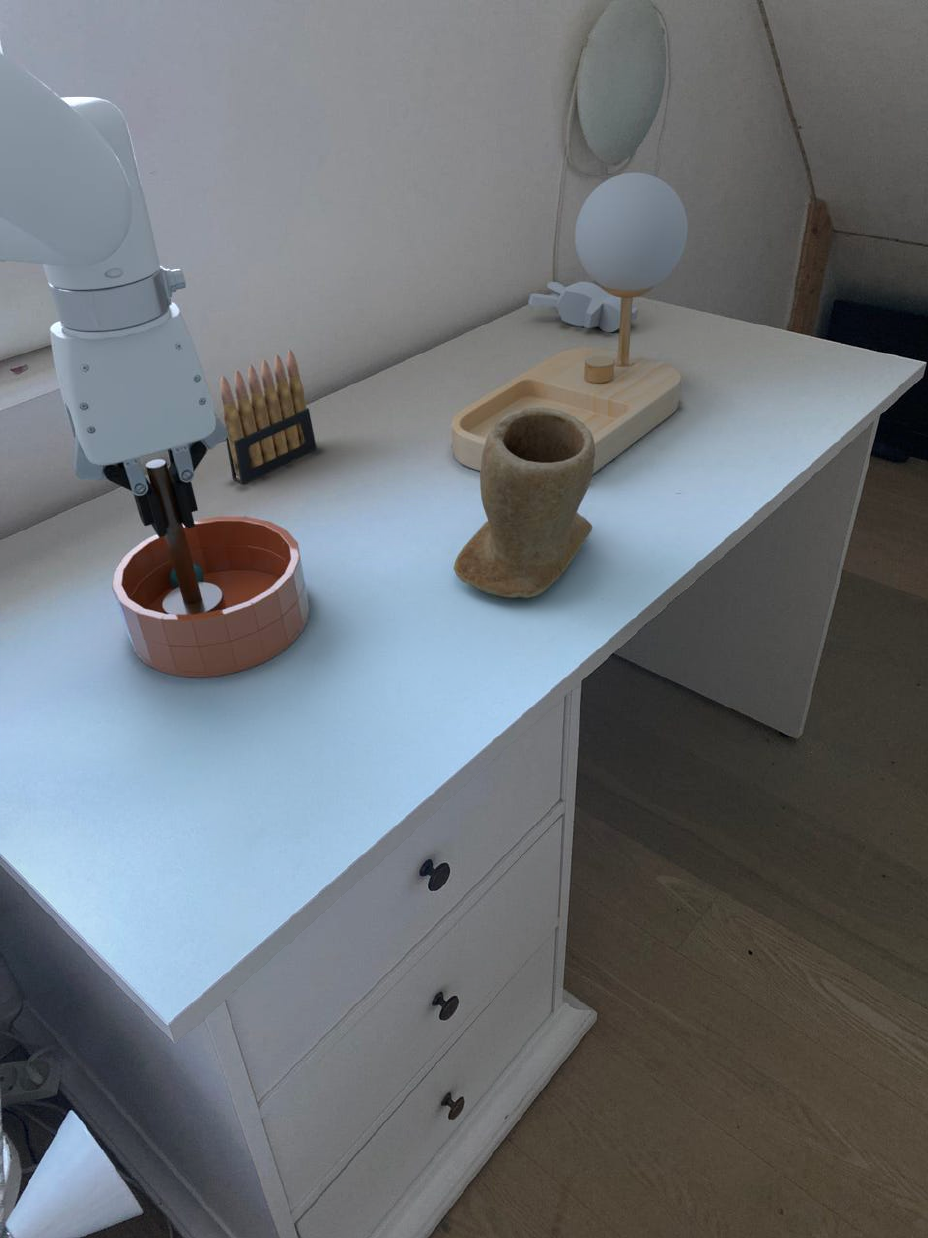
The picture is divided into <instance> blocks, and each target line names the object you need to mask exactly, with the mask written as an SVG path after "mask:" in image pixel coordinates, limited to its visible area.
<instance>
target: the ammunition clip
mask: <svg viewBox="0 0 928 1238" xmlns="http://www.w3.org/2000/svg"><path fill="white" fill-rule="evenodd" d="M273 365H274V366H273V370H274V371H273V372H274V377H273V374H272V371H271V367H270V366H269V363H268V362H267V361H266V359H263V360H262V362H261V371H260V373H261V382H262V386H261V382H260V379H259V376H258V373H257V372H256V368H255V367H254V366H253V365H252V364H250V365H249V367H248V372H247V374H248V375H247V377H248V387H249V394H248V389H247V385H246V382H245V380H244V378H243V376H242V374H241V372H240V371H239V370H236V371H235V372H234V373H235V374H234V390H235V391H234V392H235V396H236V397H235V398H234V394H233V390H232V388H231V385H230V383H229V381H228V380H227V378H226V377H225V375H222V376H221V379H220V396H221V401H222V410H223V420H224V426H225V428H226V430H227V431H228V437H227V438H226V439H225V442H226V447H227V452H228V458H229V463H230V470H231V475H232V480H234V481H236V482H238V483H239V484H242V485H246V484H248V483H249V482H251V481H253V480H256V479H257V478H259V477H262V476H264V475H266V474H268V473H270V472H273V471H274V470H276V469H279V468H281V467H283V466H285V465H286V464H288V463H291V462H293V461H295V460H297V459H299V458H301V457H303V456H305V455H308V454H310V453H311V452H313V451H316V450H317V443H316V442H317V441H316V438H315V437H316V436H315V433H314V428H313V427H314V426H313V422H312V417H311V411H310V408H307V403H306V396H305V391H304V386H303V383H302V380H301V375H300V372H299V367H298V362H297V360H296V356H295V355H294V353H293V351H292V349H288V350H287V355H286V369H285V367H284V363H283V361H282V359H281V357H280V356H279V355H278V354H275V357H274V363H273ZM286 371H287V373H286ZM287 378H288V379H287ZM274 379H275V382H274ZM249 397H250V398H249ZM235 399H236V402H235Z"/></svg>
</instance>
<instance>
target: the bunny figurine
mask: <svg viewBox="0 0 928 1238" xmlns="http://www.w3.org/2000/svg"><path fill="white" fill-rule="evenodd" d="M546 288H547V291H548V292H550V293H552V294H555V295H549V294H543V293H534V292H533V293H530V296H529V299H528V302H527V304H528V305H529V306H532V307H556V310H557V312H558V314H559V317H560V319H561V321H563V322H565V323H566V324H569V325H572V326H575V327H583V328H587V329H591V328H596V327H599V328H600V329H601V331H603V332H606V333H612V332H613V333H614V332H616V331H618V330H619V329H620V311H621V297H616V296H613V295H611V294H609V293H607V292H606V291H605V290H604V289H603V288H602V287H601V286H600V285H597V284H595V283H593V282H589V281H581V280H580V281H578V282H576V283H573V284H570V285H568V286H564V285H562V284H561V283H560V282H557V281H551V282H548V283H547V284H546ZM556 295H557V296H556ZM638 312H639V309H638V308H635V306H634V305H633V304H632V316H631V324H632V323H634V322H635V321H636V320H637V317H638Z"/></svg>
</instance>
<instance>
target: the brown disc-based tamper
mask: <svg viewBox="0 0 928 1238" xmlns="http://www.w3.org/2000/svg"><path fill="white" fill-rule="evenodd" d="M168 468H169V466H168V463H167V461H166V460H165V459H162V458H161V459H160V458H158V459H152V460H150V461H148V462H147V463H146V464H145V469H146V473H147V477H148V481H149V483H150V484H151V486H152V487H153V489H154V490H155V492H156V493H157V496H158V499H159V503H160V507H161V510H162V514H163V518H164V521H165V525H166V529H167V534H166V536H165V538H166V542H167V545H168V549H169V552H170V556H171V559H172V563H173V567H174V570H175V574H176V577H177V581H178V585H179V587H178V588H176V589H174V590H172V591H171V592H169V593H168V594H167V595H166V596H165V598H164V599H163V602H162V608H163V612H164V614H186V615H193V614H200V613H206V612H212V611H218V610H223V609H226V604H225V600H224V596H223V592H222V590H221V589H220V588H219V587H218V586H217V585H215V584H212V583H207V582H198V581H197V577H196V573H195V569H194V565H193V562H192V558H191V554H190V550H189V546H188V543H187V539H186V535H185V531H184V527H183V523H182V520H181V516H180V513H179V509H178V505H177V501H176V497H175V494H174V490H173V486H172V482H171V478H170V474H169V470H168Z"/></svg>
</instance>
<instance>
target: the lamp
mask: <svg viewBox="0 0 928 1238" xmlns="http://www.w3.org/2000/svg"><path fill="white" fill-rule="evenodd" d="M688 225H689V224H688V218H687V213H686V209H685V207H684V204H683V202H682V200H681V198H680V196H679V195H678V194H677V192H676V191H675V190H674V188H672V186H671V185H669V184H668V183H666V182H665V181H664V180H663V179H662V178H659V177H657V176H655V175H651V174H648V173H644V172H625V173H622V174H621V173H620V174H618V175H616V176H612V177H611V178H609V179H607V180H605V181H603V182H602V183H601V184H599V185H598V186H596V187H595V189H594V190H593V191H592V192H591V193H590V194H589V196H588V197H587V198H586V199H585V200H584V203H583V204H582V206H581V208H580V211H579V213H578V216H577V220H576V224H575V229H574V230H575V231H574V242H575V248H576V253H577V256H578V259H579V261H580V264H581V266H582V267H583V269H584V271H585V272H586V273H587V275H589V277H590V278H591V279H592V280H593V281H595V282H596V283H598V284H599V286H600V288H601V289H602V290H603V291H606V292H607V293H609V294H611V295H613V296H616V297H621V311H620V328H619V329H618V332H619V333H618V347H617V348H618V350H614V349H608V348H602V347H581V348H580V347H579V348H573V349H567V350H564V351H561V352H558V353H556V354H554V355H552V356H551V357H549V358H547V359H546V360H544V361H542V362H540V363H538V364H537V365H535V366H534V367H532V368H530V369H528V370H527V371H525V372H523V373H522V374H520V375H518V376H517V377H515V378H512V379H511V380H509V381H508V382H506V383H505V384H503V385H501V386H500V387H497V388H496V389H495V390H493V391H491V392H490V393H488V394H486V395H484V396H483V397H481V398H480V399H478V400H476V401H474V402H473V403H471V404H469V405H468V406H465V407H464V408H463V409H461V410H459V411H458V412H457V413H456V414H455V415H454V416H453V418H452V421H451V431H452V433H451V434H452V451H453V456H454V457H455V459H456V460H457V461H458V463H460V464H462V466H463V465H464V466H465V467H467V468H470V469H471V470H475V471H479V472H481V462H482V454H483V448H484V446H485V443H486V440H487V437H488V435H489V433H490V431H491V429H492V428H493V427H494V425H495V424H496V423H497V422H498V421H499V420H500V419H502V418H503V417H505V416H506V415H508V414H509V413H511V412H514V411H517V410H521V409H526V408H538V407H544V408H551V409H556V410H560V411H563V412H565V413H568V414H570V415H572V416H574V417H576V418H577V419H578V420H579V421H581V422H582V423H584V425H585V426H586V427H587V428H588V429H589V430H590V432H591V434H592V436H593V439H594V445H595V458H594V468H593V475H594V474H595V473H596V472H598V471H600V469H602V468H604V466H606V465H607V464H608V463H610V462H611V461H612V460H613V459H615V458H617V457H618V456H619V455H620V454H622V453H623V452H624V451H625V450H627V449H628V448H630V447H631V446H632V445H633V444H634V443H636V442H637V441H639V440H640V439H641V438H643V437H644V436H645V435H647V434H648V433H649V432H650V431H652V430H653V429H654V428H656V427H657V426H658V425H660V424H661V423H662V422H663V421H665V420H666V419H667V418H669V417H670V416H671V415H672V414H674V413H675V412H676V411H677V409H678V408H679V403H680V394H681V393H680V392H681V384H682V383H681V381H682V374H681V373H680V370H678V369H677V368H676V367H675V366H674V365H671V364H669V363H666V362H664V361H661V360H656V359H652V358H648V357H644V356H639V355H635V354H632V353H630V348H631V347H630V346H631V345H630V344H631V329H632V323H631V316H632V305H633V300H634V299H633V298H638V297H642V296H644V295H646V294H648V293H649V292H650V291H652V290H653V289H654V287H655V286H656V285H658V284H659V283H661V282H662V281H663V280H665V279H666V278H667V277H668V276H670V274H671V273H672V271H673V270H674V269H675V268H676V266H677V265H678V263H679V262H680V260H681V258H682V256H683V253H684V252H685V248H686V244H687V240H688V232H689V231H688V229H689V228H688V227H689V226H688Z"/></svg>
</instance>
